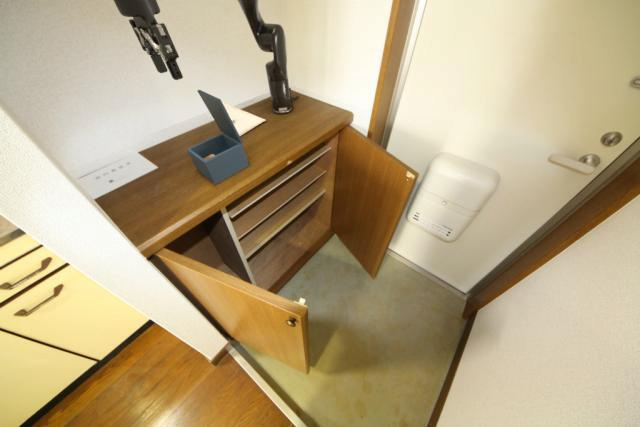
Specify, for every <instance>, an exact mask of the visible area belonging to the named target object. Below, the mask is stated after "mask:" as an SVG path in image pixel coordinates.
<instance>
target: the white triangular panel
mask: <svg viewBox="0 0 640 427" xmlns="http://www.w3.org/2000/svg"><path fill="white" fill-rule="evenodd" d="M222 103H223V105H224V107H225V109H226V111H227V113H228V115H229V117H230V119H231V120H232V122H233V124H234V126H235V128H236V130H237V132H238V134H239V136H240V137H241V136H243V135H244V134H246V133H248V132H250V131H251V130H253V129H255V128H256V127H257V126H259V125H260V124H262V123H265V122H266V120H267V119H265V118H263V117H260V116H258V115H255V114H254V113H250V112H248V111H245V110H243V109H241V108H238V107H236V106H234V105H232V104H231V105H230V104H228V103H225V102H223V101H222Z"/></svg>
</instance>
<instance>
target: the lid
mask: <svg viewBox="0 0 640 427" xmlns="http://www.w3.org/2000/svg"><path fill="white" fill-rule="evenodd" d="M197 93H198V94H199V96H200V99H201V100H202V102H203V104H204V105H205V107H206V108H207V111H208V112H209V114H210V115H211V118H213V121H214V122H215V124H216V125H217V127H218V129H219V131H220V132H221V133H224V134H226V135H228V136H229V137H231V138H233V139H235V140H236V141H238V142H240V143H242V144H243V140H242V138H241V136H239V134H238V132H237V130H236V128H235V126H234V124H233V122H232V120H231V119H230V117H229V115H228V113H227V111H226V109H225V107H224V105H223V103H224V102H223V101H222V99H220V98H219V97H216V96H214V95H212V94H211V93H208V92H206V91H203V90H201V89H198V90H197ZM222 102H223V103H222Z"/></svg>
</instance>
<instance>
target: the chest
mask: <svg viewBox="0 0 640 427" xmlns="http://www.w3.org/2000/svg"><path fill="white" fill-rule="evenodd" d="M185 150H186V151H187V153H188V155H189V157H190V159H191V160H192V162H193V165H194V166H195V168H196V170H197V172H199V173H200V174H201V175H203V176H204V177H205V178H207V179H208V180H209V181H210V182H212V183H213V184H214V185H216V186H217V185H218V184H219V183H221V182H223V181H225V180H227V179H228V178H230V177H231V176H232V177H233V175H235V174H237V173H238V172H240V171H242V170H244V169H246V168H248V167H249V166H250V164H249V160H248V158H247V155H246V151H245V148H244V146H243V142H242V143H240V142H238V141H236V140H235V139H233V138H231V137H229V136H228V135H226V134H224V133H222V132H221V133H219V134H217V135H214V136H211V137H210V138H208V139H205V140H203V141H201V142H199V143H197V144H194V145H192V146H189V147H187V148H186V149H185ZM211 154H214V155H215V156H214V157H212V158H210V159H208V160H205V159H203V158H205V157H207V156H209V155H211Z"/></svg>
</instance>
